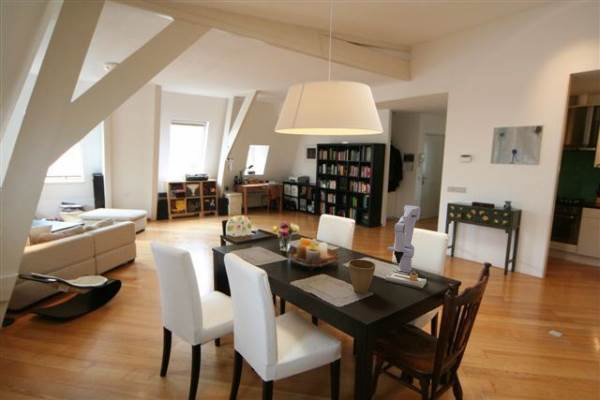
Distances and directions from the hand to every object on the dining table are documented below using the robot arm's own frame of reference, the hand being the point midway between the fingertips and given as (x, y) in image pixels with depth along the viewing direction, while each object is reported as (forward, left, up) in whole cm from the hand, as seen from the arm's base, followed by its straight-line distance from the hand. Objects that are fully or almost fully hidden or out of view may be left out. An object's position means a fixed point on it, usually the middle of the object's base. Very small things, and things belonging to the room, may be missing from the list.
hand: (398, 263), depth 206 cm
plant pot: (+32, -11, -10) cm, 35 cm away
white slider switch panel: (+3, +6, -9) cm, 12 cm away
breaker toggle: (+3, +11, -7) cm, 13 cm away
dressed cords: (+3, +6, -9) cm, 12 cm away
